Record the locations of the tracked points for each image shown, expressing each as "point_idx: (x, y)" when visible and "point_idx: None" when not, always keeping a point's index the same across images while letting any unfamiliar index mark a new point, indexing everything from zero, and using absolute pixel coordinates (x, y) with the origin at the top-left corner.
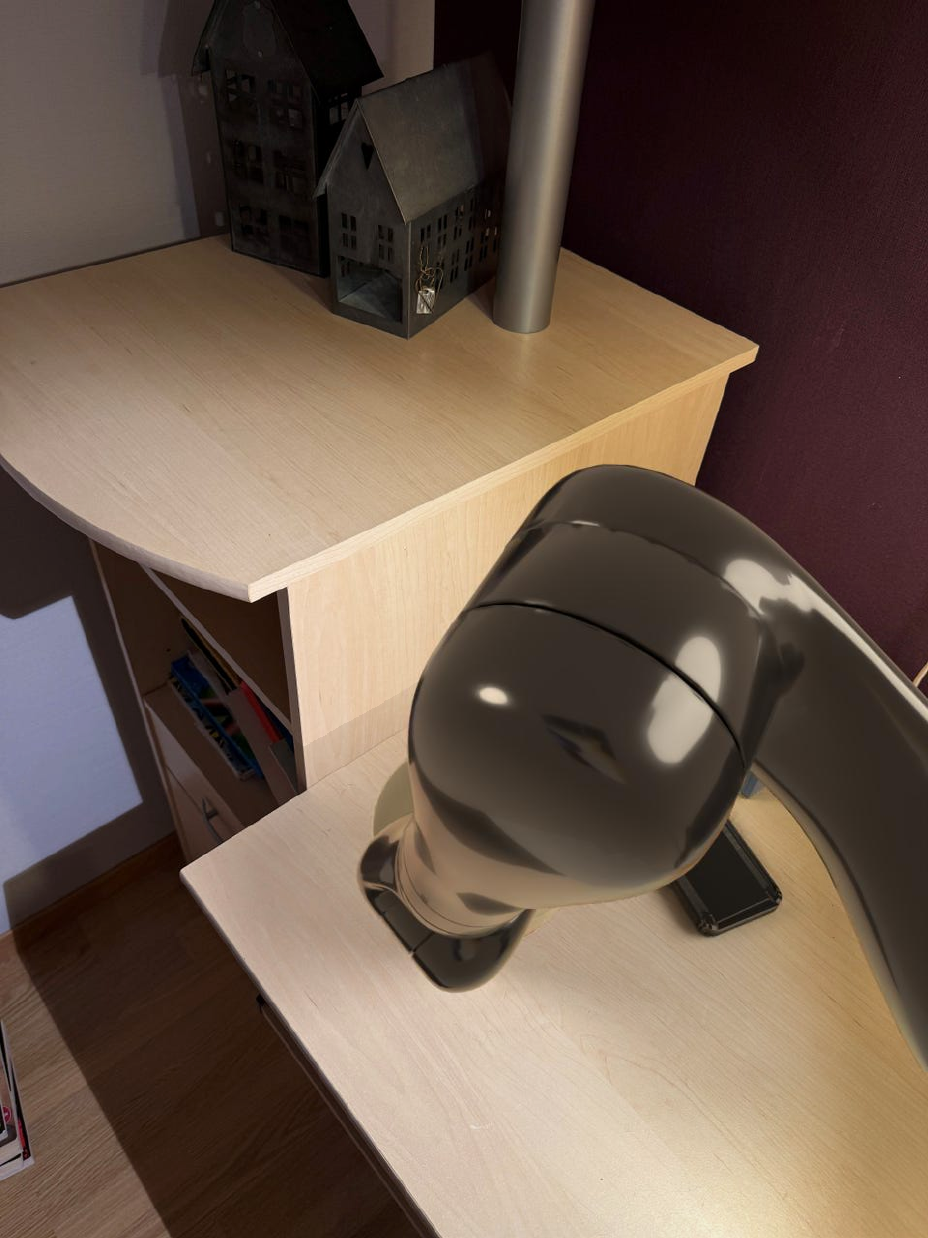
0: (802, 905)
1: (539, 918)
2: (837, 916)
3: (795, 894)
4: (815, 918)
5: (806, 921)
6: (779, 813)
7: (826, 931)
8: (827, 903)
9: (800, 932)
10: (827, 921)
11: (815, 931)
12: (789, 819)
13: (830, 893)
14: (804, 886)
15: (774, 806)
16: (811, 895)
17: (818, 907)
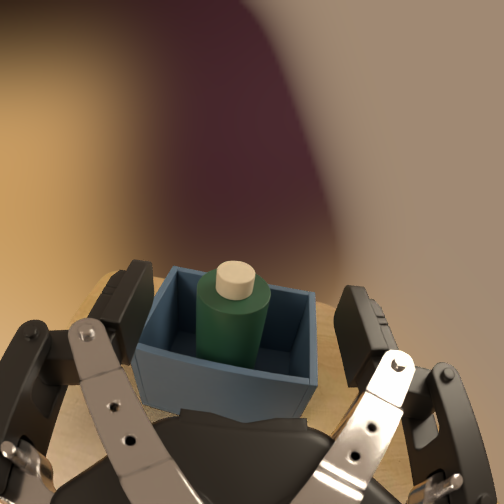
0: (387, 481)
1: None
2: (407, 465)
3: (378, 479)
4: (400, 480)
5: (398, 488)
6: (317, 427)
7: (411, 481)
8: (396, 463)
9: (401, 499)
10: (406, 474)
11: (407, 488)
12: (327, 426)
13: (392, 454)
14: (377, 467)
15: (310, 425)
16: (385, 468)
17: (395, 471)
